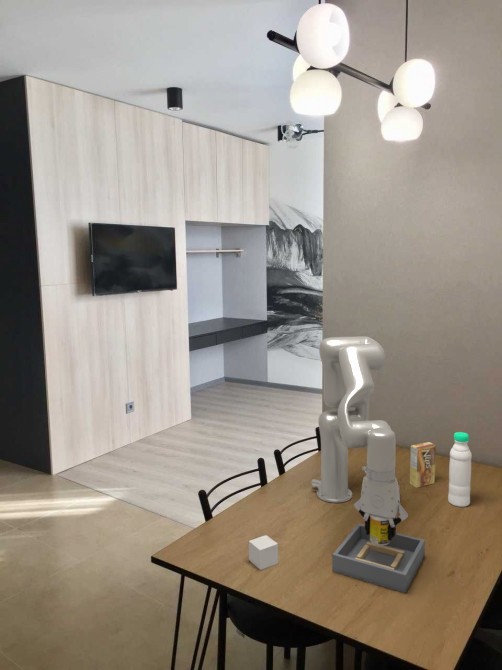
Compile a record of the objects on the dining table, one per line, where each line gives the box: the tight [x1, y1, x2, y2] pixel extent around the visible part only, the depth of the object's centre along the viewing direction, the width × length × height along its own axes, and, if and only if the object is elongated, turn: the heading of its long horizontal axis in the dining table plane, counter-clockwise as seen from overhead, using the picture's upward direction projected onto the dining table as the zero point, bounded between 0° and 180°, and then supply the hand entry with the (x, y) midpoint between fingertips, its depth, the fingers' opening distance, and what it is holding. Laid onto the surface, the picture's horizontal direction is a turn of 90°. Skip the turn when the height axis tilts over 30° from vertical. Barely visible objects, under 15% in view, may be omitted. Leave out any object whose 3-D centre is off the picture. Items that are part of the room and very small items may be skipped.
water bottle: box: [447, 431, 473, 508], centre depth 188 cm, size 7×7×25 cm
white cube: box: [248, 534, 279, 571], centre depth 156 cm, size 6×6×6 cm
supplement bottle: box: [370, 514, 390, 546], centre depth 152 cm, size 6×6×10 cm
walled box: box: [331, 523, 426, 594], centre depth 154 cm, size 20×20×5 cm
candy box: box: [409, 441, 437, 488], centre depth 205 cm, size 9×4×15 cm, turn 116°
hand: (380, 534), depth 153 cm, fingers closed on supplement bottle, 5 cm apart
